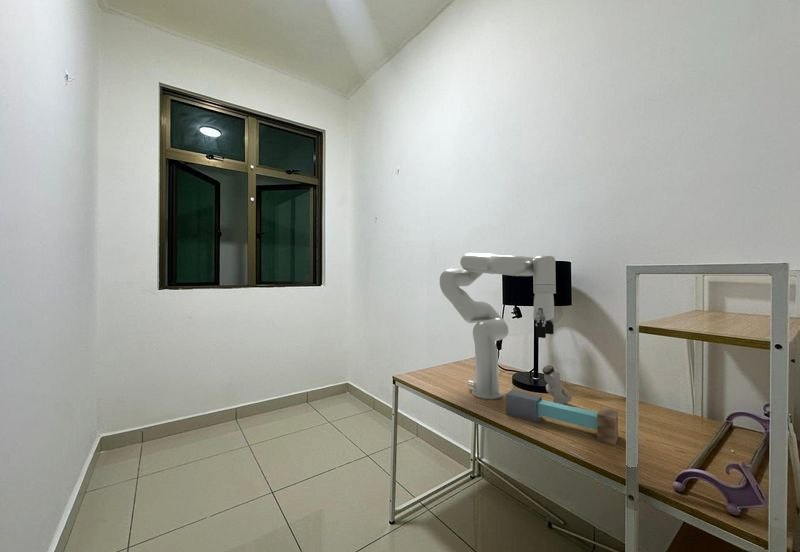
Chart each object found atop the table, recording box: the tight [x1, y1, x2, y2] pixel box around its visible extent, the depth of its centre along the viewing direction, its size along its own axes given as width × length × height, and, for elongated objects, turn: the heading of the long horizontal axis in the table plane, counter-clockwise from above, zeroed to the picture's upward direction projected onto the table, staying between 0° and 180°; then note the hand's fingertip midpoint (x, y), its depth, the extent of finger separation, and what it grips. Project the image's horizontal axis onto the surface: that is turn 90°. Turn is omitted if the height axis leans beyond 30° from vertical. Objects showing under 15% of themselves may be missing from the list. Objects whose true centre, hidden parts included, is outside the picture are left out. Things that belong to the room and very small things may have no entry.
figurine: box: [542, 365, 573, 405], centre depth 126 cm, size 9×10×15 cm
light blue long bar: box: [537, 399, 599, 431], centre depth 106 cm, size 24×4×4 cm, turn 50°
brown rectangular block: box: [596, 407, 619, 446], centre depth 99 cm, size 4×7×8 cm, turn 140°
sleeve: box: [505, 389, 543, 424], centre depth 115 cm, size 11×6×8 cm, turn 50°
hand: (545, 335), depth 118 cm, fingers open, 9 cm apart
